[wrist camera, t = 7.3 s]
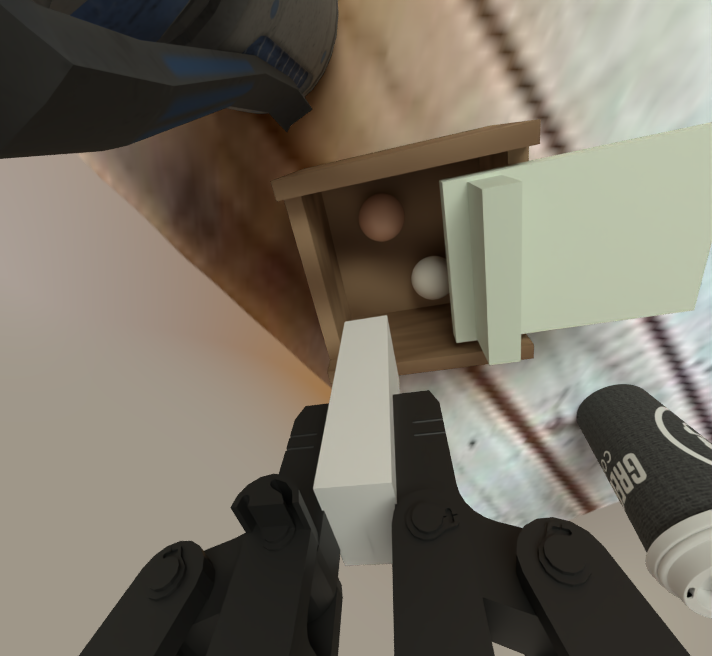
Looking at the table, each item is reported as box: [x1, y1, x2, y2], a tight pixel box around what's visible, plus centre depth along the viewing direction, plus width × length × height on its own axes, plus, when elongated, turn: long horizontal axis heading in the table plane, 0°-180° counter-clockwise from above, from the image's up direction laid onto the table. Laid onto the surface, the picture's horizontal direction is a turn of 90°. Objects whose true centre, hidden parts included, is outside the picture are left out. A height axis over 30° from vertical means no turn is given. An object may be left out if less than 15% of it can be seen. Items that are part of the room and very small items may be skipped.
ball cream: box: [411, 256, 449, 300], centre depth 26 cm, size 3×3×3 cm
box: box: [270, 119, 540, 384], centre depth 23 cm, size 13×13×8 cm
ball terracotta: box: [358, 193, 405, 242], centre depth 24 cm, size 3×3×3 cm
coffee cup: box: [577, 384, 712, 618], centre depth 27 cm, size 10×10×15 cm
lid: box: [439, 122, 712, 365], centre depth 18 cm, size 9×13×4 cm
